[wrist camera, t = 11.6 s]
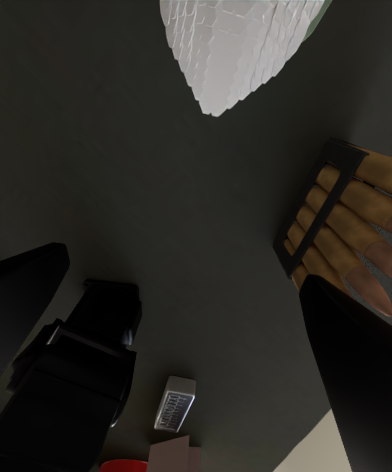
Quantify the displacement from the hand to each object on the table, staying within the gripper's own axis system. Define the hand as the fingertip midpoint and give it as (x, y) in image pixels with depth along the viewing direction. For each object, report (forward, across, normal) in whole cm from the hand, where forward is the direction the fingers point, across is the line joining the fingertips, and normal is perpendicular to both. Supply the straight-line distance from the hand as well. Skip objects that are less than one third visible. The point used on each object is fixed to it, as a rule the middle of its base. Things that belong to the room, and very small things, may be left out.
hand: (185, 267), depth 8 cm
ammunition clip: (+13, -10, +1) cm, 16 cm away
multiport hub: (+13, 0, +40) cm, 42 cm away
